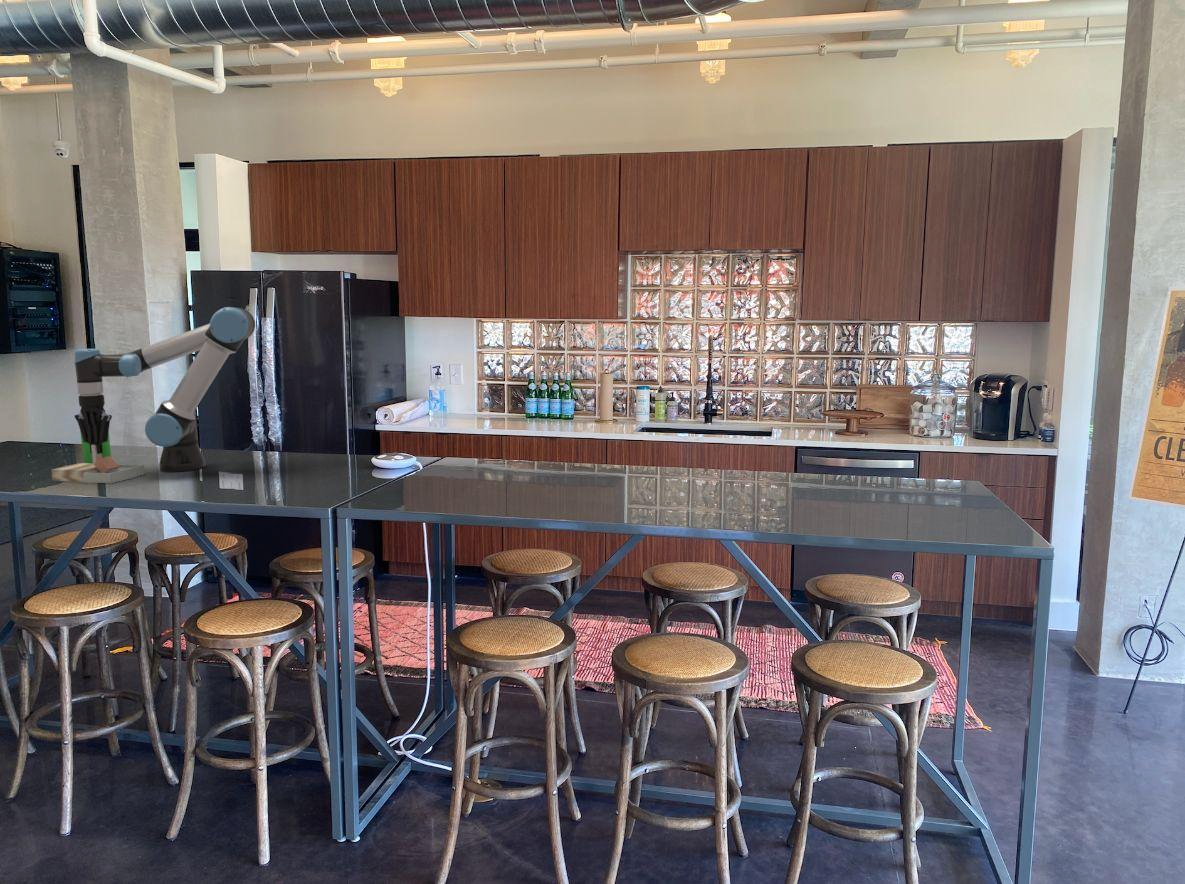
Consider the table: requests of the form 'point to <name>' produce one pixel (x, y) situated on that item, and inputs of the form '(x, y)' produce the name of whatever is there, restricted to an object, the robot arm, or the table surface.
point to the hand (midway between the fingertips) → (97, 462)
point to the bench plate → (72, 472)
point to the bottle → (87, 454)
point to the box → (114, 474)
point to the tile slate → (116, 470)
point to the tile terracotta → (105, 464)
